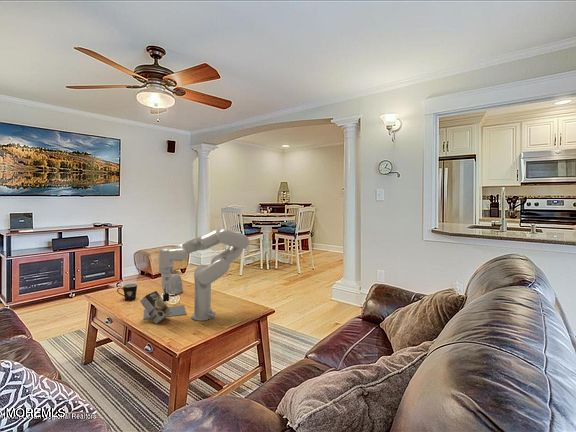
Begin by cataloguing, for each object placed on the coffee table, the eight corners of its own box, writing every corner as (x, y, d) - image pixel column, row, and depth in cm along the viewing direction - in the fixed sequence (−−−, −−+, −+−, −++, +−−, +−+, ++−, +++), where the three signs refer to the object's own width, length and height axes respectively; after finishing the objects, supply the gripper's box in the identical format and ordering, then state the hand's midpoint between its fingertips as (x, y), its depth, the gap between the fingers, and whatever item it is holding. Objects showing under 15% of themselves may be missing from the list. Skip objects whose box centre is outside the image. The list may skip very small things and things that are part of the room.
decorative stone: (178, 291, 234) (178, 271, 233) (184, 292, 232) (184, 272, 230) (167, 295, 224) (167, 274, 223) (173, 296, 222) (173, 276, 221)
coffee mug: (139, 297, 217) (139, 283, 216) (132, 302, 208) (132, 287, 208) (124, 296, 218) (124, 282, 217) (116, 301, 209) (116, 286, 209)
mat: (186, 314, 190) (186, 314, 190) (143, 320, 181) (143, 319, 181) (184, 305, 205) (184, 305, 205) (143, 310, 195) (143, 309, 195)
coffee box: (162, 317, 174) (146, 295, 176) (155, 324, 176) (138, 301, 177) (172, 311, 183) (156, 290, 185) (165, 317, 185) (149, 296, 186)
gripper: (174, 272, 172) (174, 304, 174) (172, 266, 186) (171, 296, 187) (159, 273, 169) (159, 306, 171) (158, 267, 183) (158, 297, 184)
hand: (166, 300), depth 179 cm, fingers closed
